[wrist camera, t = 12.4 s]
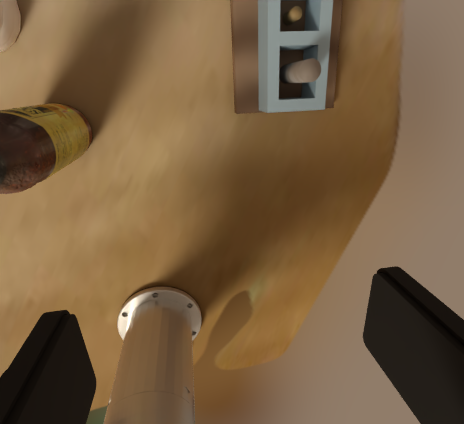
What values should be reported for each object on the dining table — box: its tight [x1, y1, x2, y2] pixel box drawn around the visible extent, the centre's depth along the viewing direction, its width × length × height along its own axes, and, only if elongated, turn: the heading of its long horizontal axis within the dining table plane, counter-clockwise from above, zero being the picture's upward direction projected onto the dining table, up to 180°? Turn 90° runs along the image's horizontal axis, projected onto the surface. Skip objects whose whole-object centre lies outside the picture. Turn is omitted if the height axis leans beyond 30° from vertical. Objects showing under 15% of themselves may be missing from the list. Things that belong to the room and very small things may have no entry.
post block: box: [230, 0, 342, 114], centre depth 30 cm, size 14×12×8 cm
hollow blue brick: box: [258, 0, 333, 113], centre depth 31 cm, size 12×6×4 cm, turn 2°
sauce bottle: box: [0, 103, 92, 194], centre depth 25 cm, size 6×6×20 cm
